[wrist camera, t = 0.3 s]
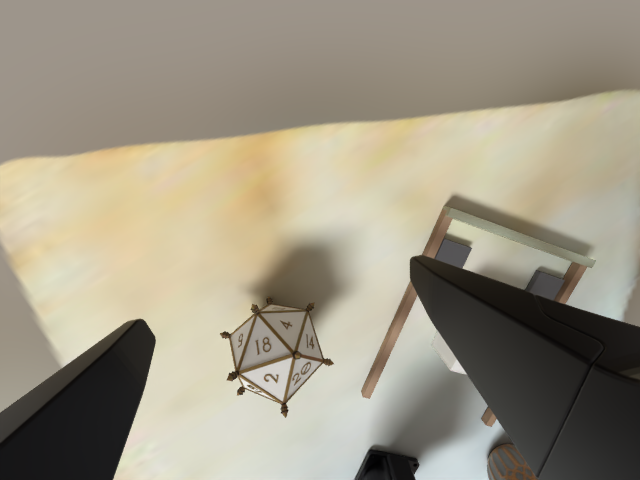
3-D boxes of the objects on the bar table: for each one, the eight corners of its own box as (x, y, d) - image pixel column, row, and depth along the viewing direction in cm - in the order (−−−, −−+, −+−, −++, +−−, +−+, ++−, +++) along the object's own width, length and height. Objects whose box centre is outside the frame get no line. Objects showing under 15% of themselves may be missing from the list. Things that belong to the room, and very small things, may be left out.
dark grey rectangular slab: (531, 328, 28) (535, 330, 28) (416, 293, 26) (418, 295, 26) (560, 278, 27) (565, 280, 26) (441, 237, 25) (444, 238, 24)
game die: (287, 288, 29) (332, 276, 20) (310, 364, 28) (369, 385, 20) (201, 318, 24) (214, 319, 16) (226, 411, 23) (254, 464, 15)
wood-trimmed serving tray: (486, 420, 31) (494, 429, 30) (361, 391, 29) (363, 400, 27) (583, 256, 27) (596, 260, 25) (443, 205, 24) (451, 207, 23)
